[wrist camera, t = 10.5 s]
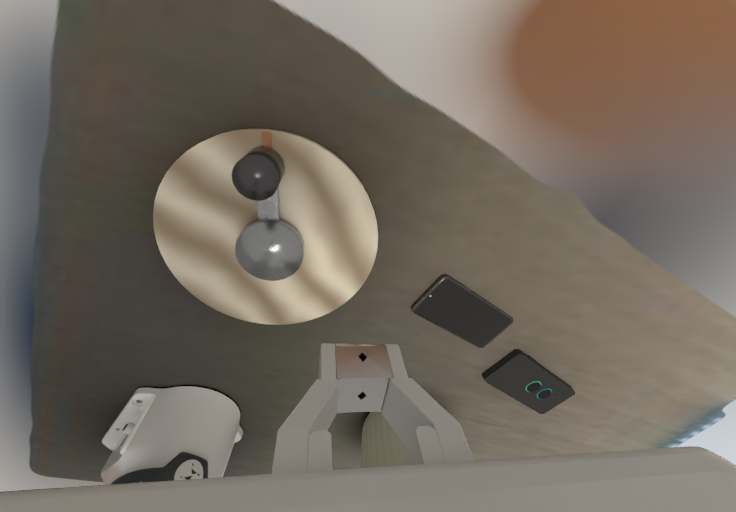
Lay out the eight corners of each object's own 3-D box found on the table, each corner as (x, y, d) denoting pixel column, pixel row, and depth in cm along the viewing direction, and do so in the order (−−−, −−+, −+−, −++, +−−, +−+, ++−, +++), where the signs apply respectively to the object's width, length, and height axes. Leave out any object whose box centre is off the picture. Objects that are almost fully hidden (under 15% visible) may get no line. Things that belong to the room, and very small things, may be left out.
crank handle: (304, 272, 35) (301, 301, 31) (242, 271, 34) (229, 301, 30) (303, 147, 28) (299, 160, 24) (226, 141, 27) (205, 153, 23)
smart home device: (542, 416, 60) (482, 381, 51) (536, 408, 61) (478, 373, 53) (578, 393, 57) (521, 353, 49) (571, 385, 58) (515, 345, 50)
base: (280, 343, 43) (278, 352, 42) (112, 231, 32) (102, 238, 31) (414, 244, 37) (417, 250, 36) (266, 68, 26) (262, 67, 25)
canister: (329, 426, 55) (330, 596, 37) (395, 370, 49) (434, 537, 31) (398, 451, 62) (428, 602, 44) (463, 404, 56) (528, 556, 38)
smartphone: (481, 350, 48) (410, 311, 42) (478, 345, 49) (408, 306, 43) (516, 320, 46) (445, 275, 40) (512, 316, 47) (443, 270, 40)
